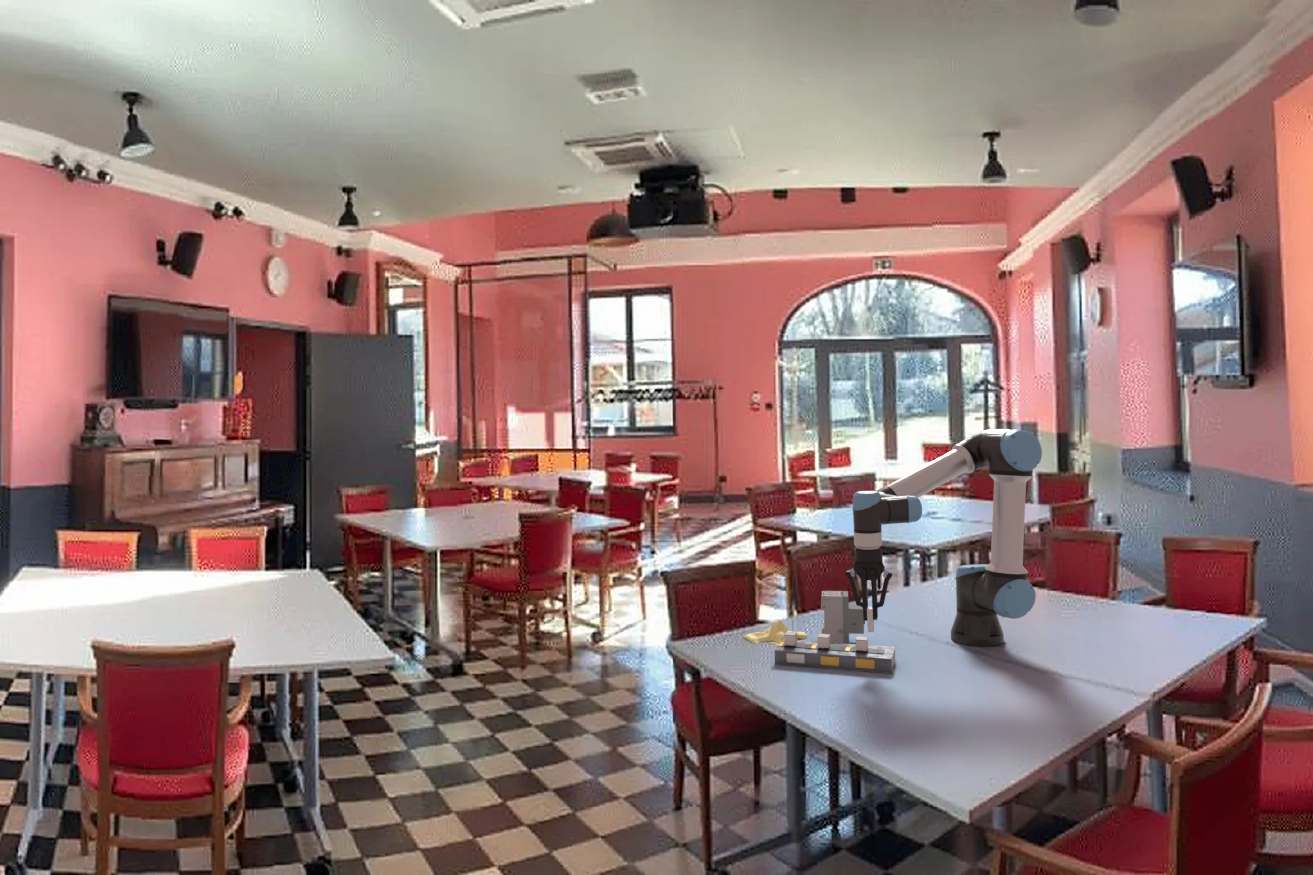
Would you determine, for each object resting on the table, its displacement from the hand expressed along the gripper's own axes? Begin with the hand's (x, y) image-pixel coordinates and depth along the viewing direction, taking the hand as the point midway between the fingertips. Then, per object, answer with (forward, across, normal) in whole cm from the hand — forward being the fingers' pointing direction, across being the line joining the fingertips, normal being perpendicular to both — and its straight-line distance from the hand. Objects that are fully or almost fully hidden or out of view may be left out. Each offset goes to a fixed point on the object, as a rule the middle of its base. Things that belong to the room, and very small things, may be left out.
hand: (871, 631), depth 235 cm
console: (+10, +10, 0) cm, 14 cm away
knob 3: (+5, +3, 0) cm, 6 cm away
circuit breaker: (+10, +10, -22) cm, 26 cm away
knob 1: (+5, +23, 0) cm, 23 cm away
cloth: (+10, +30, -20) cm, 38 cm away
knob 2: (+5, +13, 0) cm, 14 cm away
